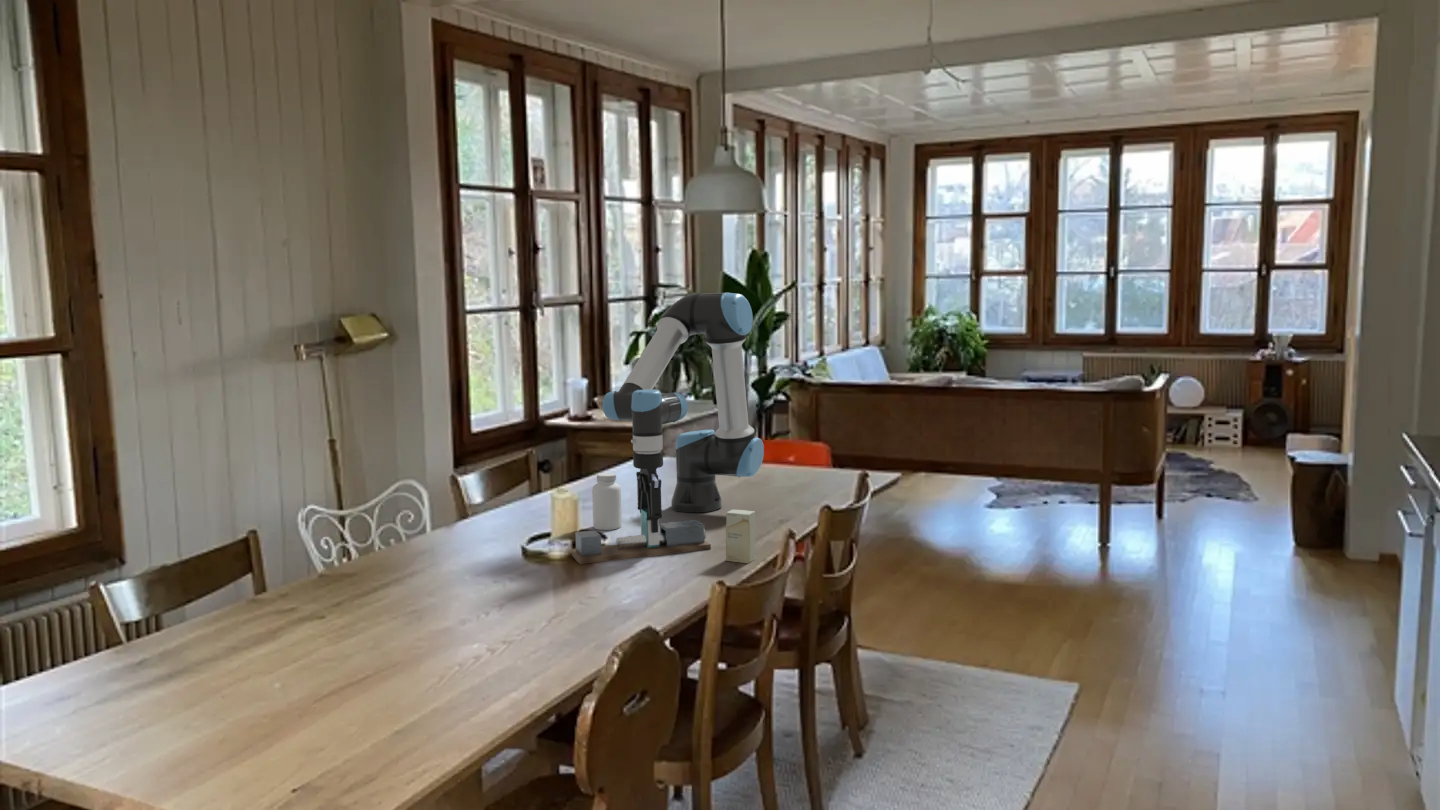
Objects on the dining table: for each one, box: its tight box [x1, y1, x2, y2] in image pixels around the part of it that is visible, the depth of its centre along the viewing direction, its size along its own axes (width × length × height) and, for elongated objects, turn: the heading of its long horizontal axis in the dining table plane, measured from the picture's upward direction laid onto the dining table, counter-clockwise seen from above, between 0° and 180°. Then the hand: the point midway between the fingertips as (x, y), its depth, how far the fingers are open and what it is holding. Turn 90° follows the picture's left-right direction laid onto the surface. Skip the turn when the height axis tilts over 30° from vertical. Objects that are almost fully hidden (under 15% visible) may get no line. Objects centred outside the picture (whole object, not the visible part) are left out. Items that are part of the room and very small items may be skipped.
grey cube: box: [575, 529, 602, 557], centre depth 258 cm, size 5×6×5 cm
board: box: [570, 539, 712, 565], centre depth 263 cm, size 34×10×1 cm, turn 111°
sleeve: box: [659, 519, 705, 547], centre depth 267 cm, size 10×6×5 cm, turn 111°
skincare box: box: [725, 508, 756, 564], centre depth 253 cm, size 6×4×12 cm
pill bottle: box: [591, 472, 623, 531], centre depth 289 cm, size 8×8×15 cm
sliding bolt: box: [615, 508, 707, 549], centre depth 264 cm, size 23×5×9 cm, turn 111°
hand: (650, 541), depth 264 cm, fingers open, 5 cm apart
